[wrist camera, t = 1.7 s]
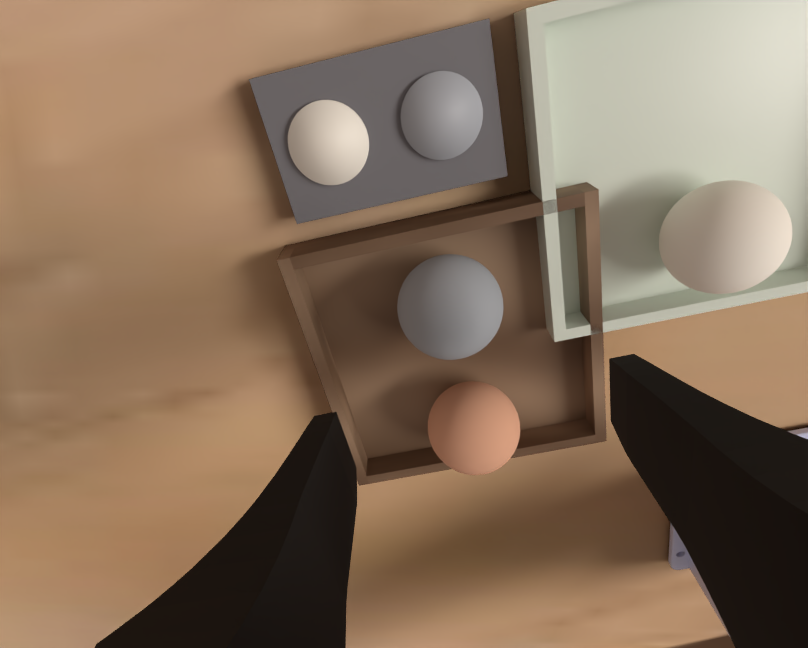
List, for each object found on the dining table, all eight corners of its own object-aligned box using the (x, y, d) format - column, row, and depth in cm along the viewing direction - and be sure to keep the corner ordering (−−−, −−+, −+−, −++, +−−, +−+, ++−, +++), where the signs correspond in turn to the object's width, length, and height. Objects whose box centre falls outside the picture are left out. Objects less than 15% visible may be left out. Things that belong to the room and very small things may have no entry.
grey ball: (498, 317, 21) (519, 368, 18) (407, 336, 21) (411, 390, 18) (485, 230, 19) (506, 267, 16) (387, 251, 20) (386, 293, 16)
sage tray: (823, 266, 21) (857, 282, 19) (543, 323, 22) (554, 341, 20) (894, -83, 15) (948, -99, 14) (513, 13, 16) (525, 8, 15)
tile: (502, 171, 19) (508, 177, 18) (301, 216, 19) (296, 225, 18) (484, 20, 16) (490, 17, 15) (256, 78, 17) (247, 79, 16)
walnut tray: (593, 418, 25) (606, 440, 23) (360, 460, 26) (359, 485, 24) (582, 179, 19) (598, 189, 17) (285, 245, 20) (276, 260, 18)
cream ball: (738, 258, 20) (812, 299, 17) (639, 278, 20) (691, 323, 17) (749, 159, 18) (835, 182, 15) (640, 183, 19) (699, 211, 15)
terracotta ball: (513, 424, 24) (534, 486, 20) (433, 438, 24) (440, 502, 21) (503, 356, 22) (525, 412, 19) (417, 373, 22) (422, 431, 19)
